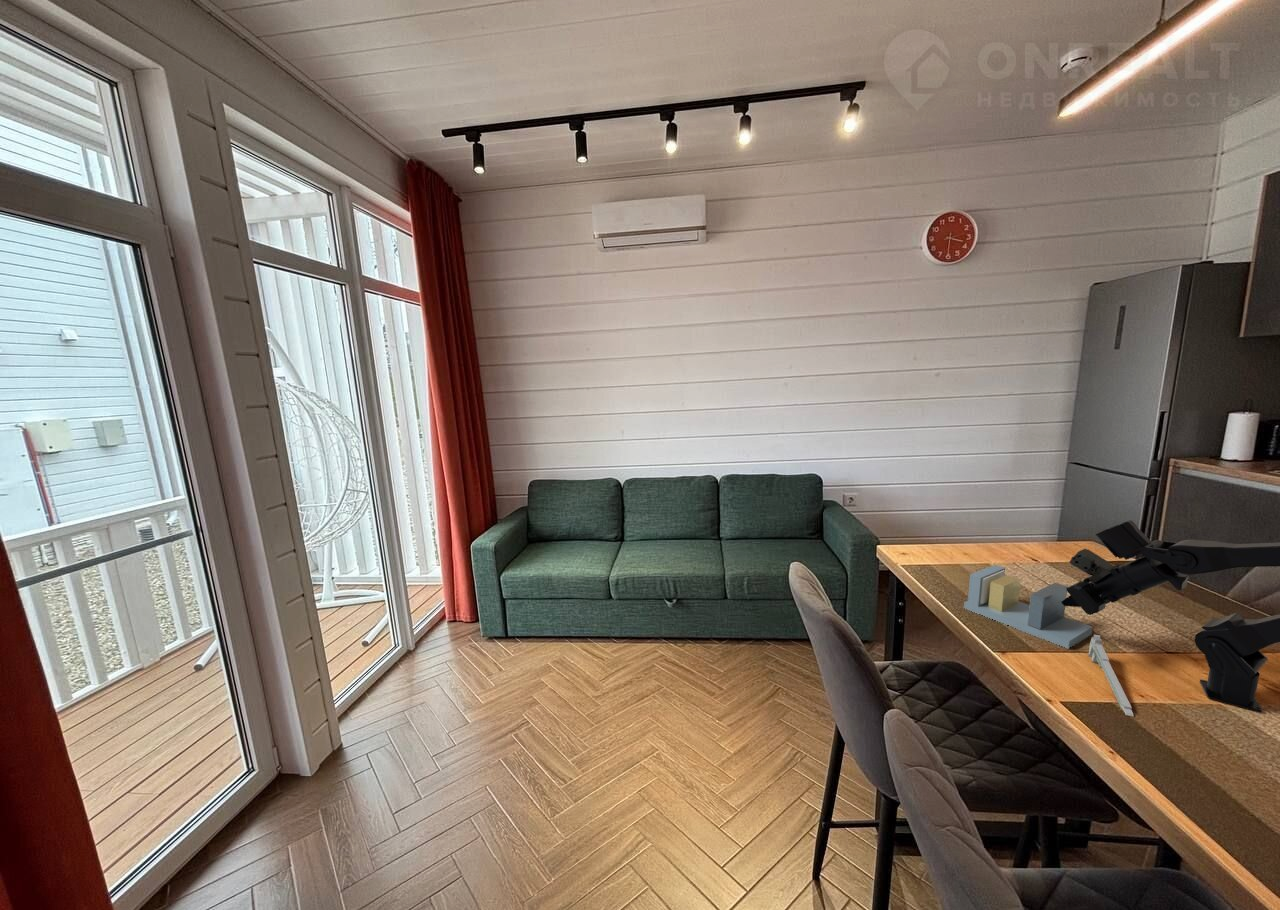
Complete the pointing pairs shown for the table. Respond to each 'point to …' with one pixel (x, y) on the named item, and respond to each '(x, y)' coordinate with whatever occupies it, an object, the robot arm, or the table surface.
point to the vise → (1020, 612)
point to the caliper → (1109, 673)
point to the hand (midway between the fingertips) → (1063, 603)
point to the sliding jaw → (1047, 605)
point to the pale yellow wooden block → (1004, 593)
